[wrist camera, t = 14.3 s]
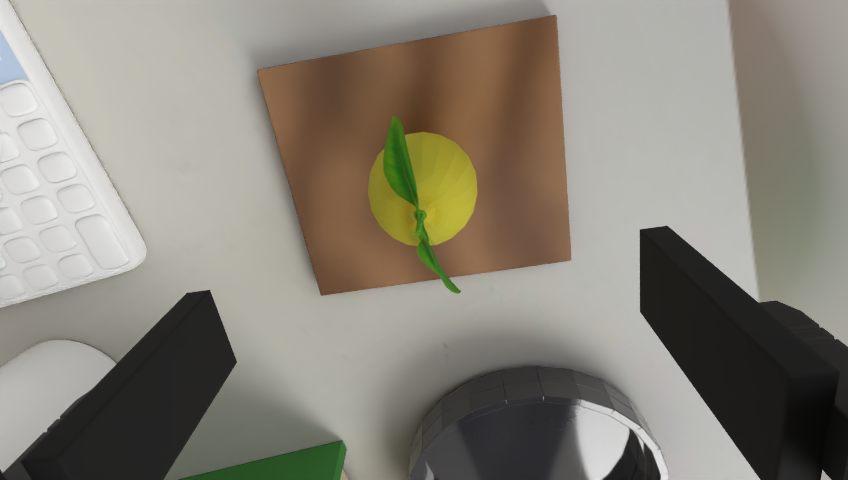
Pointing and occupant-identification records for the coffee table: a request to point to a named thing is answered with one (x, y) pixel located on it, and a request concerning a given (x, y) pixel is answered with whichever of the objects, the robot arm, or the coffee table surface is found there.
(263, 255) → the coffee table surface
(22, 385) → the candle holder
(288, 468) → the hardback book
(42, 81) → the calculator
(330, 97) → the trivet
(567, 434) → the pan
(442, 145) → the lemon
